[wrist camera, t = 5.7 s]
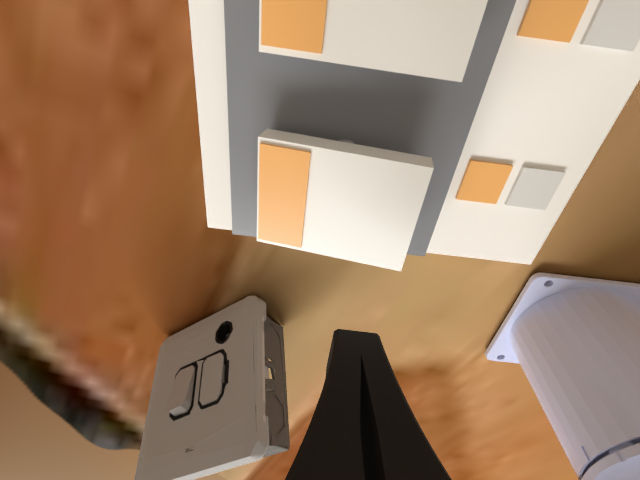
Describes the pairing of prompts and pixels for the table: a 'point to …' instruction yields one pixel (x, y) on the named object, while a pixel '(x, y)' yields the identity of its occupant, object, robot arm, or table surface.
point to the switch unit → (430, 116)
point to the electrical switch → (217, 396)
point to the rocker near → (375, 33)
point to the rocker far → (339, 197)
